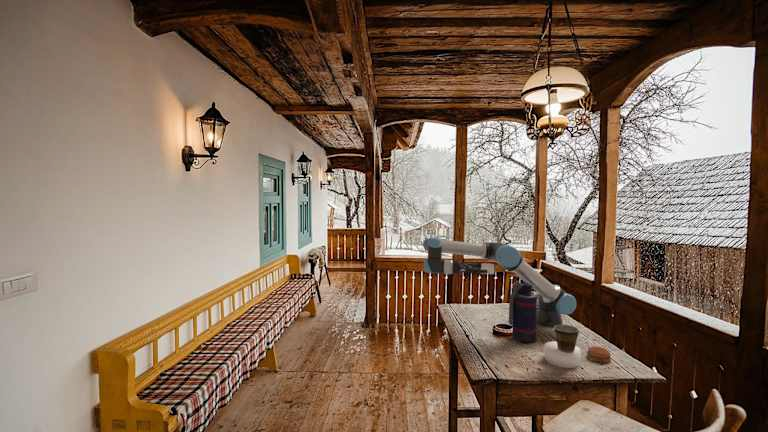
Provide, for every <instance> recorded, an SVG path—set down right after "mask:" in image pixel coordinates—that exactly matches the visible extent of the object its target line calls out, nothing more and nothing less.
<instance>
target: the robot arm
mask: <svg viewBox="0 0 768 432" xmlns="http://www.w3.org/2000/svg"><path fill="white" fill-rule="evenodd" d="M422 242H423V243H422V247H423V249H424V250H425V251H426V252H427V258H425V259H424V260H423V271H424V273H427V274H439V275H441V274H442V275H443V274H444V275H446V276H448V275H452V274H453V275H461V273H467V274H471V275H478V276H481V274H482V275H483V274H484V275H495V269H494V268H495V263H497V264H498V265H500V266H501V267H502V268H503V269H505V270H506V271H507V272H508V273H514V274H515V275H516V276H517V277H519V279H521V280H522V282H524V283H528V284H530V285H532V289H533V290H534V291H535V292H537V294H538V295H537V325H540V326H542V327H549V328H554V326H556V325H564V324H563V319H562V316H567V315H571V314H572V313H573V312H574V311H576V308H577V300H576V298H575V296H573V295H572V294H570V293H567V292H566V291H565V290H564V289H562V288H561V287H560V285H559V284H552V283H551V282H550V281H549V280H548V279H547V278H545V277H544V276H543V275H542V274H540V273H539V272H538V271H537V270H536V269H534V268H533V267H532V266H531V265H530V264H529V263H528V262H526V261H525V260H524V256H523V255H522V254H521V253H520V252H519V250H518V249H517V248H516V247H515V246H513V245H510V244H506V243H503V242H485V241H484V242H483V241H482V242H481V243H479V242H468V241H455V240H446V239H442V238H441V237H439V236H438V237H436V236H435V237H434V236H433V237H428V238H426V239H424V240H423V241H422ZM443 254H451V255H453V254H454V255H462V256H469V257H470V256H473V257H480V259H484V260H489V261H492V262H494V263H482V262H481V261H479V262H467V263H466V262H465V263H464V262H463V263H462V264H461V260H457V259H456V260H455V259H454V260H452V259H442V257H443V256H442V255H443Z"/></svg>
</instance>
